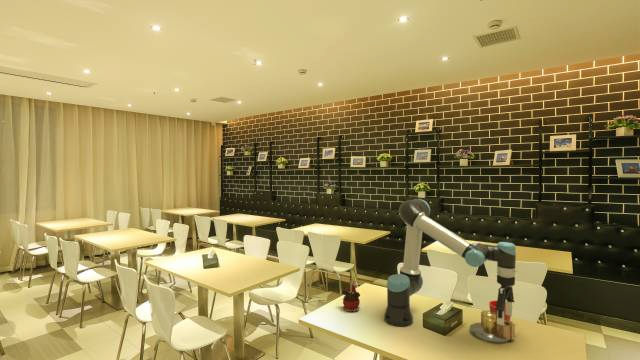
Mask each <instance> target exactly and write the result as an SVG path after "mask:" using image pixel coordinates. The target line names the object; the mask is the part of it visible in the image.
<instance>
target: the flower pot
mask: <svg viewBox="0 0 640 360" xmlns="http://www.w3.org/2000/svg"><path fill="white" fill-rule="evenodd" d="M488 305H489V311H491V312H495V314H497V310H495V308H496V305H497V300H491V301H489V302H488ZM505 311H506V302H505V306H504V320H506V321H509V322H511V321H510V320H511V317H512V316H509V315H506V314H505Z"/></svg>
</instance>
